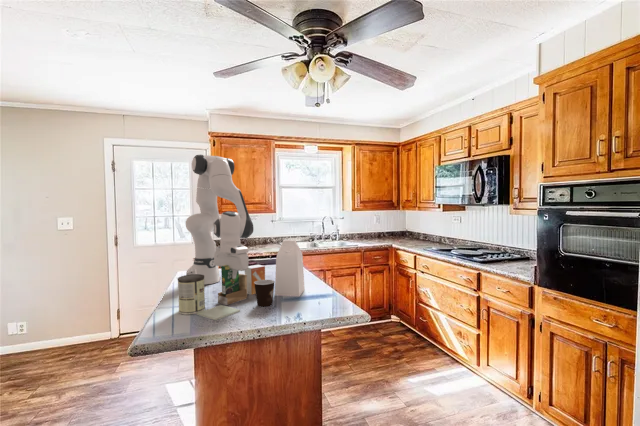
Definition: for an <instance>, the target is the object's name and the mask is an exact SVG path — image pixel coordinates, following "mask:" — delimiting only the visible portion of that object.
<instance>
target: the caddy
mask: <svg viewBox="0 0 640 426" xmlns="http://www.w3.org/2000/svg"><path fill="white" fill-rule="evenodd" d="M247 299H248V293H247V275H245V273H239V291H237V292H233V293H230V294H227V295H223V294H222V291H219V292H217V303H218V304H220V305H224V306H228V305H232V304H234V303H238V302H240V301H243V300H247Z"/></svg>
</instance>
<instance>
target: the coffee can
mask: <svg viewBox="0 0 640 426" xmlns="http://www.w3.org/2000/svg"><path fill="white" fill-rule="evenodd" d="M177 288H178V289H177V292H178V293H177V294H178V295H177V296H178V313H179V314H180V315H186V316H187V315H188V316H189V315H195V314H196V313H198V312H201V311H204V310H206V303H205V302H206V300H205V297H206V296H205V285H204V275H201V274H191V275H186V274H184V275H181V276H179V277H177Z"/></svg>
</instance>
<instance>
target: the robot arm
mask: <svg viewBox="0 0 640 426" xmlns="http://www.w3.org/2000/svg"><path fill="white" fill-rule="evenodd" d="M191 168H192V171H193V173H194V174H196V175H198V177H197V178H198V179H197V182H196V183H197V184H196V197H195V202H196V204H197V205H198V207H199V210H200V211H199V213H194V214H192V215H190V216H188V217H187V218H186V219H185V220H186V221H185V227H186V229H187V231H188V232H189V233H190V235H191V237H192V239H193V243H194V252H195V253H194V255H195V256H194V257H193V258H192V260H193V264H192V265H191V266H190V267H189V268H188V269H187V270H186V274H185V275H191V274H201V275H204V286H205V285H211V284H213V285H214V284H216V283H218V282H220V281H221V280H222V276H220V271H219V267H221V266H224V265H228V266H229V268H230V269H232V271H233V274H232V275H231V278H232V279H235V278H236V274H237V272H238V270H239V272H245V270H247V269H248V266H249V255H248V252H249V248H248V247H247V246H245V245H244V244H242V243H241V239H248V238H250V237H251V236H252V234H253V233H254V224H253V220H252V219H251V217H250V214H249V210H248V207H247V205H246V202H245V199H244V196H243V193H242V191H241V189H239V188H238V187H237V186H236V184H235V183H234V181H233V174H234V172H235V162H234V161H233V159H231V158H227V157H223V156H219V155H203V154H196V155H195V156H194V157H193V158H192V161H191ZM218 197H219V198H221V199H225V200H227V201H230V202H231V203H233V204H234V205H235V207H236V210H237V212H236V211H231V210H230V211H223V212H222V213H221V214H220V212H219V207H218ZM211 232H213V235H215V236H216V238H219V239H220V241H219V242H220V243H219V244H220V245H218V246H217V243H216V241H215V240H214V239H213V237H212V234H211Z"/></svg>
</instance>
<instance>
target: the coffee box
mask: <svg viewBox="0 0 640 426" xmlns="http://www.w3.org/2000/svg"><path fill="white" fill-rule="evenodd" d="M220 271H221V272H220V273H221V292H222V294H223V295H227V294H230V293H233V292H237V291H239V274H240V271H239V270H238V272H237V274H236V278H235V279H232V278H231V275H232V274H233V271H232V269H230V268H229V266H228V265H224V266H221V270H220Z"/></svg>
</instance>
